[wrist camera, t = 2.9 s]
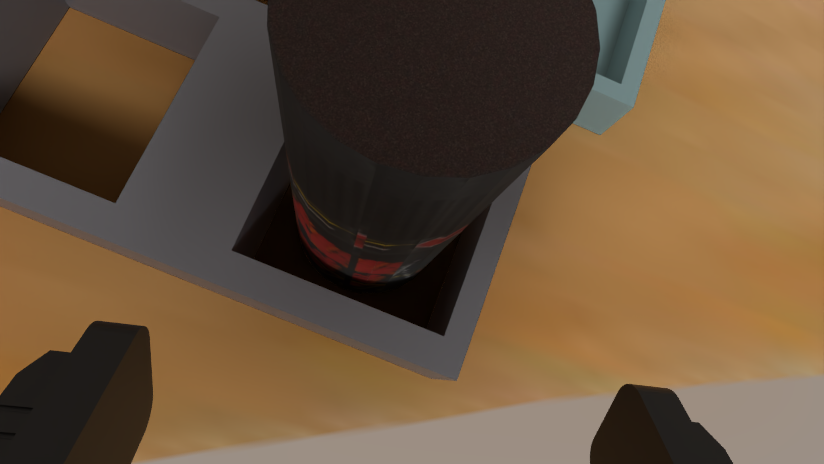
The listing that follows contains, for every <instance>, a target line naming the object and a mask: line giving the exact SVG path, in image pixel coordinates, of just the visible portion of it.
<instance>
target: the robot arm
mask: <svg viewBox="0 0 824 464" xmlns="http://www.w3.org/2000/svg"><path fill="white" fill-rule="evenodd" d="M152 401H153V385H152V368H151V352H150V336H149V331H148V328H147V327H145V326H138V325H129V324H121V323H112V322H103V321H94V322H93V323H92V324H91V325H89V327H88V328H87V329H86V331H85V332H84V334H83V335H82V337H81V338H80V340H79V341H78V343H77V344H76V346H75V347H74V349H73V350H72V352H71V353H70V352H61V351H51V350H50V351H49V352H47V353H46V354H44V355H43V356H41V357H40V358H39V359H37V360H36V361H34V362H33V363H31V364H30V365H29V366H27V367H26V368H24V369H23V370H21V371H20V372H19V373H17V374H16V375H15V377H14V378H13V379H12V381H11V382H10V383H9V384H8V386H7V387H6V388H5V390H4V391H3V392H2V394H1V395H0V464H131V462H132V460H133V458H134V455H135V453H136V451H137V449H138V446H139V444H140V442H141V440H142V437H143V435H144V433H145V430H146V427H147V424H148V421H149V417H150V413H151V408H152ZM590 464H733V462H732V461H731V459H730V457H729V456H728V454H727V452H726V450H725V449H724V448H723V447H722V446H721V445H720V444H719V443H718V442H717V441H716V440H715V439H714V438H713V437H712V436H711V435H710V434H709V433H708V432H707V431H706V430H705V429H704V427H703V426H702V425H700V423H696V422H691V420H690V418H689V416H688V414H687V413H686V411H685V409H684V407H683V405H682V404H681V402H680V400H679V398H678V397H677V395H676V394H675V393H674V392H673V391H672V390H670V389H668V388H659V387H651V386H642V385H633V384H626V385H624V386H622V387H621V388H620V390H619V391H618V393H617V395H616V397H615V399H614V401H613V403H612V405H611V407H610V409H609V410H608V412H607V414H606V416H605V418H604V420H603V422H602V424H601V426H600V428H599V430H598V431H597V433H596V435H595V437H594V439H593V442H592V445H591V451H590Z"/></svg>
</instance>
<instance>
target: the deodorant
mask: <svg viewBox="0 0 824 464" xmlns="http://www.w3.org/2000/svg"><path fill="white" fill-rule="evenodd" d="M267 30H268V36H269V43H270V50H271V56H272V63H273V69H274V76H275V83H276V89H277V96H278V102H279V109H280V116H281V122H282V129H283V135H284V142H285V149H286V155H287V162H288V168H289V175H290V182H291V188H292V195H293V201H294V208H295V215H296V221H297V228H298V234H299V237H300V241H301V245H302V249H303V251H304V253H305V255H306V256H307V258H308V260H309V262H310V263H311V265H312V266H313V267H314V268H315V269H316V270H317V271H318V272H319V273H320V274H321V275H322V276H323V277H324V278H325V279H326V280H328V281H330V282H331V283H333V284H335V285H337V286H338V287H340V288H342V289H346V290H350V291H353V292H357V293H381V292H385V291H389V290H392V289H396V288H398V287H400V286H401V285H403V284H405V283H406V282H408V281H410V280H412V279H413V278H414V277H415V276H416V275H417V274H418V273H419V272H420V271H421V270H422V269H423V268H424V267H425V266H426V265H427V264H428V263H429V262H431V261H432V260H433V259H434V258H435V257H436V256H437V255H438V254H439V253H440V252H441V251H442V250H443V249H444V248H445V247H446V246H447V245H448V244H449V243H450V242H451V241H452V240H453V239H454V238H455V237H457V236H458V235H459V234H460V233H461V232H462V231H463V230H464V229H465V228H466V227H467V226H468V225H469V224H470V223H471V222H472V221H473V220H474V219H475V218H476V217H477V216H478V215H479V214H480V213H481V212H483V211H484V210H485V209H486V208H487V207H488V206H489V205H490V204H491V203H492V202H493V201H494V200H495V199H496V198H497V197H498V196H499V195H500V194H501V193H502V192H503V191H504V190H505V189H506V188H507V187H508V186H510V185H511V184H512V183H513V182H514V181H515V180H516V179H517V178H518V177H519V176H520V175H521V174H522V173H523V172H524V171H525V170H526V169H527V168H528V167H529V166H530V165H531V164H532V163H533V162H534V161H536V160H537V159H538V158H539V157H540V156H541V155H542V154H543V153H544V152H545V151H546V150H547V149H548V148H549V147H550V146H551V145H552V144H553V143H554V142H555V141H556V140H557V139H558V138H559V137H560V136H561V134H562V133H563V132H564V131H565V130H566V129H567V128H568V127H569V126H570V125H571V124H572V123H573V122H574V121H575V120H576V119H577V117H578V115H579V113H580V111H581V109H582V107H583V105H584V103H585V101H586V99H587V97H588V95H589V93H590V91H591V89H592V87H593V86H594V81H595V75H596V70H597V64H598V58H599V53H600V40H599V31H598V22H597V12H596V8H595V6H594V3H593V0H268V9H267Z"/></svg>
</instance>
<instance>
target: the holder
mask: <svg viewBox="0 0 824 464" xmlns="http://www.w3.org/2000/svg"><path fill="white" fill-rule="evenodd" d="M69 7H71V8H73V9H75V10H78V11H80V12H82V13H85V14H87V15H90V16H92V17H94V18H97V19H99V20H101V21H104V22H106V23H108V24H111V25H113V26H116V27H118V28H120V29H123V30H125V31H127V32H130V33H132V34H134V35H137V36H139V37H141V38H144V39H146V40H149V41H151V42H153V43H156V44H158V45H160V46H163V47H165V48H167V49H170V50H172V51H175V52H177V53H179V54H182V55H184V56H186V57H189V58H191V59H193V60H195V62H194V64H193V65H192V67H191V69H190V71H189V73H188V74H187V76H186V78H185V80H184V81H183V83H182V85H181V87H180V89H179V90H178V92H177V94H176V96H175V98H174V99H173V101H172V103H171V105H170V107H169V108H168V110H167V112H166V114H165V115H164V117H163V119H162V121H161V123H160V124H159V126H158V128H157V130H156V132H155V133H154V135H153V137H152V139H151V140H150V142H149V144H148V146H147V148H146V149H145V151H144V153H143V155H142V157H141V158H140V160H139V162H138V164H137V165H136V167H135V169H134V171H133V173H132V174H131V176H130V178H129V180H128V182H127V183H126V185H125V187H124V189H123V190H122V192H121V194H120V196H119V198H118V199H117V201H116V203H113V202H111V201H108V200H106V199H103V198H101V197H98V196H96V195H93V194H91V193H89V192H86V191H84V190H81V189H79V188H76V187H74V186H71V185H69V184H66V183H64V182H61V181H59V180H56V179H54V178H51V177H49V176H47V175H44V174H42V173H39V172H37V171H34V170H32V169H29V168H27V167H24V166H22V165H19V164H17V163H14V162H12V161H9V160H7V159H5V158H2V157H0V206H1V207H3V208H6V209H8V210H11V211H13V212H16V213H18V214H21V215H23V216H26V217H28V218H31V219H33V220H36V221H38V222H41V223H43V224H46V225H48V226H51V227H53V228H56V229H58V230H61V231H63V232H66V233H68V234H71V235H73V236H76V237H78V238H81V239H83V240H86V241H88V242H91V243H93V244H96V245H98V246H101V247H103V248H106V249H108V250H111V251H113V252H116V253H118V254H121V255H123V256H126V257H128V258H131V259H133V260H136V261H138V262H141V263H143V264H146V265H148V266H151V267H153V268H156V269H158V270H161V271H163V272H166V273H168V274H171V275H173V276H176V277H178V278H181V279H183V280H186V281H188V282H191V283H193V284H196V285H198V286H201V287H203V288H206V289H208V290H211V291H213V292H216V293H218V294H221V295H223V296H226V297H228V298H231V299H233V300H236V301H238V302H241V303H243V304H246V305H248V306H251V307H253V308H256V309H258V310H261V311H263V312H266V313H268V314H271V315H273V316H276V317H278V318H281V319H283V320H286V321H288V322H291V323H293V324H296V325H298V326H301V327H303V328H306V329H308V330H311V331H313V332H316V333H318V334H321V335H323V336H326V337H328V338H331V339H333V340H336V341H338V342H341V343H343V344H346V345H348V346H351V347H353V348H356V349H358V350H361V351H363V352H366V353H368V354H371V355H373V356H376V357H378V358H381V359H383V360H386V361H388V362H391V363H393V364H396V365H398V366H401V367H403V368H406V369H408V370H411V371H413V372H416V373H418V374H421V375H423V376H426V377H428V378H431V379H441V380H453V381H457V379H458V376H459V373H460V370H461V367H462V364H463V361H464V358H465V355H466V353H467V350H468V347H469V344H470V341H471V338H472V335H473V332H474V329H475V327H476V324H477V321H478V318H479V315H480V312H481V309H482V306H483V303H484V300H485V298H486V295H487V292H488V289H489V286H490V283H491V280H492V277H493V274H494V272H495V269H496V266H497V263H498V260H499V257H500V254H501V251H502V248H503V246H504V243H505V240H506V237H507V234H508V231H509V228H510V225H511V222H512V219H513V217H514V214H515V211H516V208H517V205H518V202H519V199H520V196H521V193H522V191H523V188H524V185H525V182H526V179H527V176H528V173H529V170H530V167H531V165H532V164H531V165H530V166H529V167H528V168H527V169H526V170H525V171H524V172H523V173H522V174H521V175H520V176H519V177H518V178H517V179H516V180H515V181H514V182H513V183H512V184H511V185H510V186H508V187H507V188H506V189H505V190H504V191H503V192H502V193H501V194H500V195H499V196H498V197H497V198H496V199H495V200H494V201H493V202H492V203H491V204H490V205H489V206H488V207H487V208H486V209H485V210H484V211H483V212H481V213H480V214H479V215H478V216H477V217H476V218H475V219H474V220H473V221H472V222H471V223H470V224H469V225H468V226H467V227H466V228H465V229H464V230H463V231H462V234H461V236H460V239H459V242H458V244H457V247H456V250H455V252H454V255H453V258H452V261H451V263H450V266H449V269H448V271H447V274H446V277H445V279H444V282H443V285H442V288H441V290H440V293H439V296H438V298H437V301H436V304H435V307H434V309H433V312H432V315H431V317H430V320H429V323H428V325H427V328H426V329H424V328H422V327H419V326H417V325H415V324H412V323H410V322H407V321H405V320H402V319H400V318H397V317H395V316H392V315H390V314H387V313H385V312H382V311H380V310H377V309H375V308H373V307H370V306H368V305H365V304H363V303H360V302H358V301H355V300H353V299H350V298H348V297H345V296H343V295H340V294H338V293H335V292H333V291H331V290H328V289H326V288H323V287H321V286H318V285H316V284H313V283H311V282H308V281H306V280H303V279H301V278H298V277H296V276H293V275H291V274H289V273H286V272H284V271H281V270H279V269H276V268H274V267H271V266H269V265H266V264H264V263H261V262H259V261H256V260H254V258H255V256H256V254H257V251H258V249H259V247H260V245H261V243H262V241H263V239H264V237H265V235H266V232H267V230H268V228H269V226H270V224H271V222H272V220H273V218H274V215H275V213H276V211H277V209H278V207H279V205H280V203H281V201H282V199H283V196H284V194H285V192H286V190H287V188H288V186H289V184H290V175H289V168H288V162H287V155H286V149H285V142H284V135H283V129H282V122H281V116H280V109H279V102H278V96H277V89H276V83H275V76H274V69H273V63H272V56H271V50H270V43H269V36H268V30H267V9H268V5H265V4H263V3H261V2H258V1H256V0H0V113H1V111H2V110H3V108H4V107H5V105H6V104H7V102H8V101H9V99H10V98H11V96H12V94H13V93H14V91H15V90H16V88H17V87H18V85H19V84H20V82H21V81H22V79H23V78H24V76H25V75H26V73H27V71H28V70H29V68H30V67H31V65H32V64H33V62H34V61H35V59H36V58H37V56H38V55H39V53H40V52H41V50H42V48H43V47H44V45H45V44H46V42H47V41H48V39H49V38H50V36H51V35H52V33H53V32H54V30H55V29H56V27H57V25H58V24H59V22H60V21H61V19H62V18H63V16H64V15H65V13H66V12H67V10H68V9H69Z"/></svg>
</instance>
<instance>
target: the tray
mask: <svg viewBox="0 0 824 464" xmlns="http://www.w3.org/2000/svg"><path fill="white" fill-rule="evenodd" d="M665 1H666V0H593V3H594V6H595V8H596V12H597V22H598V31H599V40H600V53H599V58H598V64H597V70H596V75H595V81H594V86H593V87H592V89H591V91H590V93H589V95H588V97H587V99H586V101H585V103H584V105H583V107H582V109H581V111H580V113H579V115H578V117H577V119H576V120H575V121H574V122H573V124H576V125H578V126H580V127H583V128H585V129H587V130H590V131H592V132H594V133H596V134H599V135H601V134H602V133H603V132H605V131H606V130H607V129H608V128H609V127H611V126H612V125H613V124H614V123H615V122H617V121H618V120H619V119H620V118H621V117H623V116H624V115H625V114H626V113H627V112H629V111H630V110H631V109H632V108H633V107H634V104H635V101H636V97H637V94H638V91H639V87H640V84H641V81H642V77H643V74H644V71H645V67H646V64H647V61H648V57H649V54H650V51H651V47H652V44H653V41H654V37H655V34H656V31H657V27H658V24H659V21H660V17H661V14H662V11H663V7H664V4H665Z"/></svg>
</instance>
